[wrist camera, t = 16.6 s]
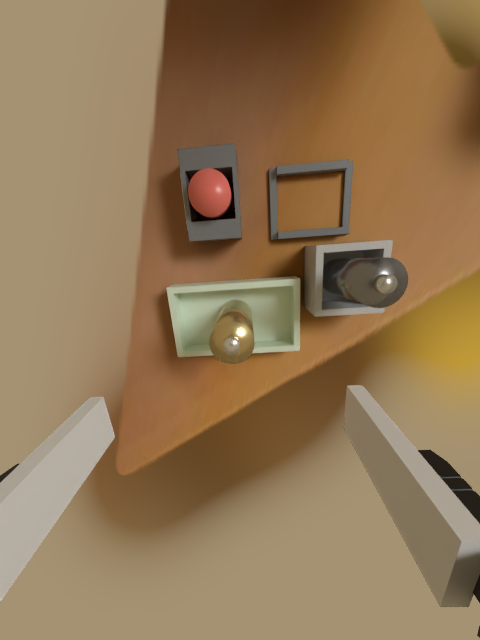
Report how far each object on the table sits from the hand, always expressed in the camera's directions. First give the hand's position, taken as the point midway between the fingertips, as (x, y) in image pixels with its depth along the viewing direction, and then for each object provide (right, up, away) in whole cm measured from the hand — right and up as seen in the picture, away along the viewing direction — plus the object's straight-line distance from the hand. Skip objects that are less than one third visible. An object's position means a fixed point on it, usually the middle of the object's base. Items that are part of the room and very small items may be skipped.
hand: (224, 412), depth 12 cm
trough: (0, +6, +20) cm, 21 cm away
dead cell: (+13, +11, +17) cm, 24 cm away
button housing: (-2, +20, +16) cm, 25 cm away
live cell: (0, +6, +19) cm, 20 cm away
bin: (+13, +11, +18) cm, 25 cm away
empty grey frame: (+9, +19, +15) cm, 26 cm away
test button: (-2, +19, +13) cm, 23 cm away
